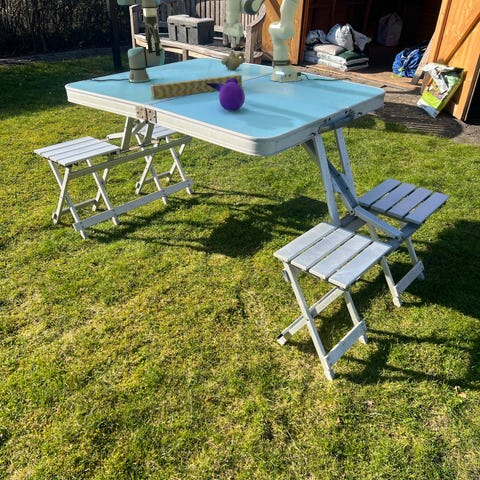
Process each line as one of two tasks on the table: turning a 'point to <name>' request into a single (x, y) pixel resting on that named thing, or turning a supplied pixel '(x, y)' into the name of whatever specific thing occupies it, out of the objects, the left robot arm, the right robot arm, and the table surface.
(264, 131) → the table surface
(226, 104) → the toy
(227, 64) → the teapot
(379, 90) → the table surface
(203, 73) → the table surface
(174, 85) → the bar
